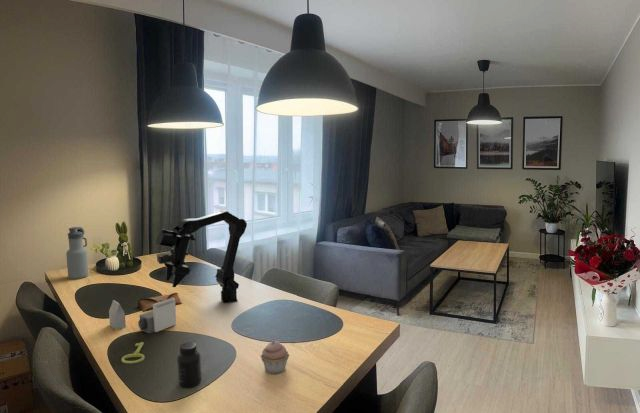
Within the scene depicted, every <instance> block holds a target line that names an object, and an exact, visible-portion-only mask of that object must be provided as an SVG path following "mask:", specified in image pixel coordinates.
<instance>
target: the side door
mask: <svg viewBox="0 0 640 413" xmlns="http://www.w3.org/2000/svg"><path fill="white" fill-rule="evenodd" d="M176 309H177V308H176V305H175V298H171V299H167V300H164V301H161V302H158V303H155V304H153V310H152V311H153V319H154V332H153V333H158V332H160V331H163V330H165V329H167V328H170V327H173V326H176V325H177V314H176Z"/></svg>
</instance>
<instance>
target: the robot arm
mask: <svg viewBox="0 0 640 413" xmlns="http://www.w3.org/2000/svg"><path fill="white" fill-rule="evenodd" d="M219 222H225V223H226V224H227V225H228V232H229V234H228V235H229V237H228V241H227V246H226V251H225V256H224V260H223V264H222V266H221V268H217V269H216V274H215V280H216V282H217V283H218V284H219V286H220V287H221V290H220V300H221V301H222V303H224V304H227V303H234V302H239V301H238V296H237V290H238V289H239V287H240V284H239V283H238V282H237V281H236V280H235V271H234V266H235V262H236V256H237V253H238V249H239V245H240V241H241V240H240V239H241V238H242V236H243V235H244V234H245V232H246V229H247V226H248V223H247V221H246V220H245V219H243V218H241V217H237V216H235V215H234V214H232V213H230V212H229V211H227V210H220V211H219V212H215V213H210V214H208V215H207V214H206V215H203V216H201V217H196V218H195V217H194V218H193V217H192V218H183V219H180V220H179V221H178V223H177V225H175V227H173V228H172V229H171V230H167V229H164V228H161V229H160V231H159V233H158V235H157V236H156V242H155V243H156V245H157V246H161V247H168V248H170V251H168V252H167V251H165V252H162V253H160V252H159V253H157V254H156V260H157V263H158V264H160V265H164V266H165V270H166V271H165V272H166V273H165V280H166V281H168V282H169V281H170V279H171V278H172V277H173V280H172V288H176V287H177V286H178V285H179V284H180V283H181V281H183V279H184V278H185V277H186V276H188V275H190V272H191V269H190V267H189V266H187V264H186V260H185V259H186V256H189V252H188V249H189V246H190V243H191V241H196V238H195V237H194V236H195V235H194V234H193V233H196V232H198V231H199V230H200V229H202V228H203V227H206V226H209V225H213V224H217V223H219ZM172 247H173V248H172Z"/></svg>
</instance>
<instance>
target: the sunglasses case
mask: <svg viewBox="0 0 640 413" xmlns="http://www.w3.org/2000/svg"><path fill="white" fill-rule="evenodd" d="M171 298H175V306H177V305H181V304H183V302H182V301H181V300H180V296H179V293H178V292H173V293H170V294H164V295H163V294H162V295H157V296H153V297H152V296H151V297H146V298H145V297H144V298H141V299H138V301H137V307H138V308H139V309H140V310H141V311H142V312H144V313H145V312H150V311H153V304H155V303H158V302H161V301H164V300H167V299H171Z"/></svg>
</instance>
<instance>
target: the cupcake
mask: <svg viewBox="0 0 640 413" xmlns="http://www.w3.org/2000/svg"><path fill="white" fill-rule="evenodd" d="M259 357H260V358H261V361H262V363H263V366H264V367H263V368H264V370H265V372H266V373H268V374H270V375H278V374H282V373H283V372H284V371H285V370H286V366H287V362H288V359H289V357H290V354H289V352H288V350H287V348H286V347H285V345H283V344H282V343H281V342H279V341H277V340H276V339H275V340H273V341H272V342H269V343H268V344H267V345H266V346H265V347H264V348H263V350H262V354H261V355H259Z"/></svg>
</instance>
